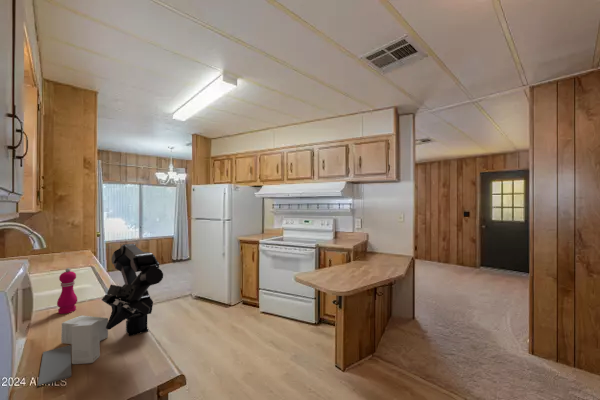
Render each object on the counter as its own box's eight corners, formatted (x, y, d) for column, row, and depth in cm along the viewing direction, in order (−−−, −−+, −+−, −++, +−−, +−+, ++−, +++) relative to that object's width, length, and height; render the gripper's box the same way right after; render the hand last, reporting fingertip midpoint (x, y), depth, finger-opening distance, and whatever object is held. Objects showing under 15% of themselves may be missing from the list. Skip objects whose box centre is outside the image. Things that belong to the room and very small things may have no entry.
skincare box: (100, 356, 89) (100, 319, 89) (91, 364, 84) (91, 325, 84) (80, 357, 88) (80, 319, 88) (69, 365, 84) (70, 325, 84)
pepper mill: (61, 309, 128) (62, 267, 129) (80, 307, 131) (80, 266, 131) (53, 315, 122) (54, 270, 122) (72, 313, 124) (73, 269, 124)
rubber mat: (70, 346, 95) (70, 344, 95) (71, 376, 78) (71, 374, 78) (43, 353, 90) (43, 351, 90) (37, 387, 74) (37, 385, 74)
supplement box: (60, 343, 97) (89, 347, 94) (61, 322, 97) (89, 325, 94) (81, 334, 104) (108, 337, 101) (81, 314, 104) (108, 317, 102)
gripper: (107, 271, 98) (71, 313, 88) (142, 277, 91) (106, 323, 80) (128, 287, 105) (97, 327, 95) (162, 294, 98) (132, 338, 88)
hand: (107, 329), depth 89 cm, fingers closed
